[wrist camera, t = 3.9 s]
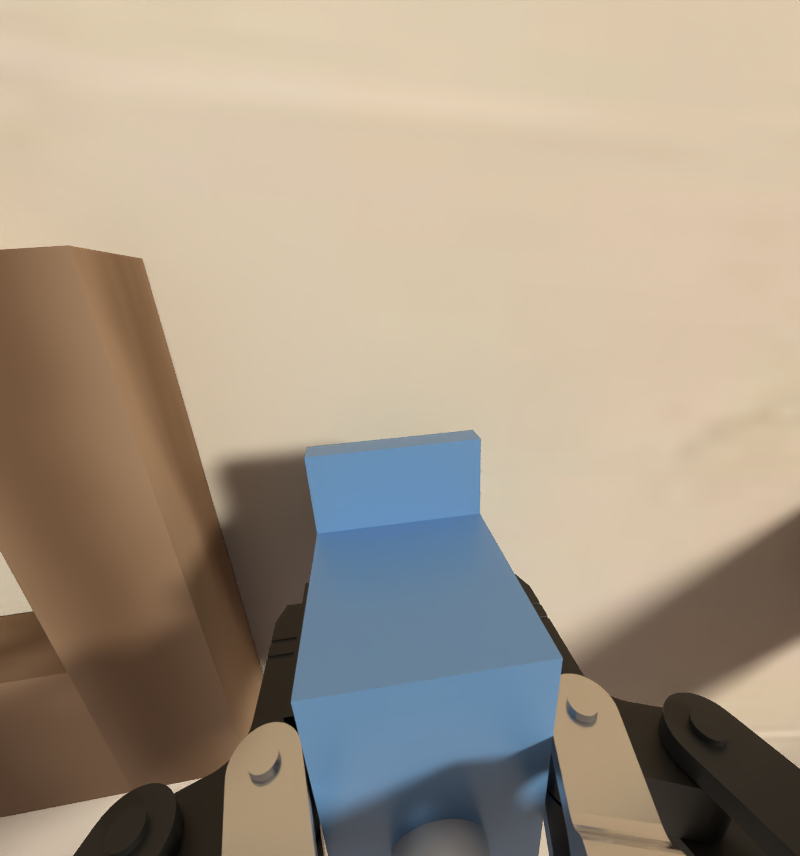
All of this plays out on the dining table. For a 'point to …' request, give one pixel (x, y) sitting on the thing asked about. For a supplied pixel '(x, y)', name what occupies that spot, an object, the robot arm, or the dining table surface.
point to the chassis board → (107, 547)
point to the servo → (419, 660)
